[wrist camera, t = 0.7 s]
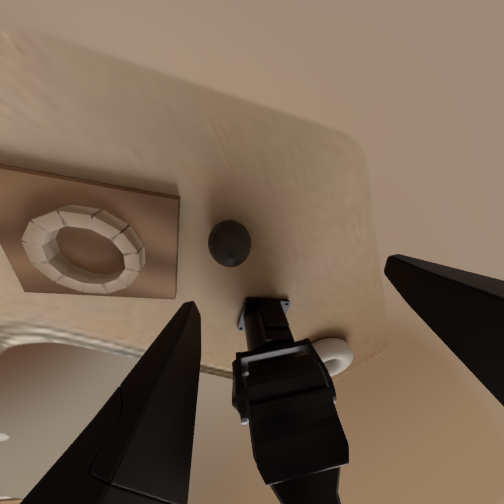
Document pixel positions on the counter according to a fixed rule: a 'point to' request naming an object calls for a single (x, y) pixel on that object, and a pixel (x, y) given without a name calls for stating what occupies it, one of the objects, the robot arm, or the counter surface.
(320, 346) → the donut
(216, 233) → the egg
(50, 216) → the egg stand
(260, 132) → the counter surface
